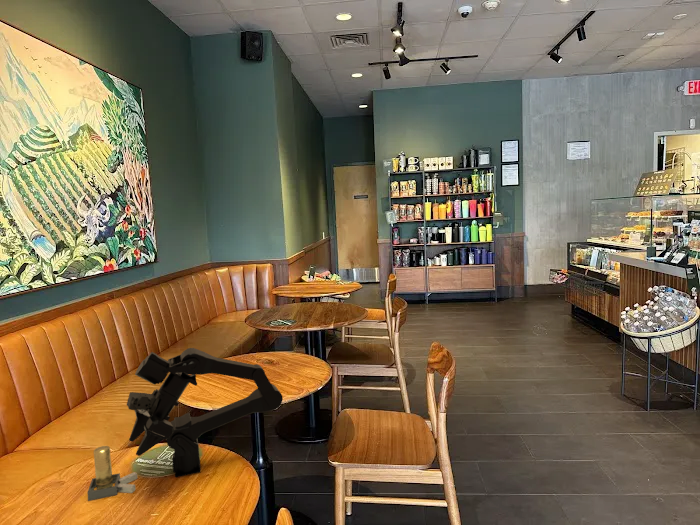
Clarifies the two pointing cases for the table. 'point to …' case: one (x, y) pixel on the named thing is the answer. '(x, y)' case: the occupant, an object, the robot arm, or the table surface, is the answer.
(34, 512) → the table surface
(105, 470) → the gold metal cylinder
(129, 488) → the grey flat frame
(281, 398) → the robot arm
